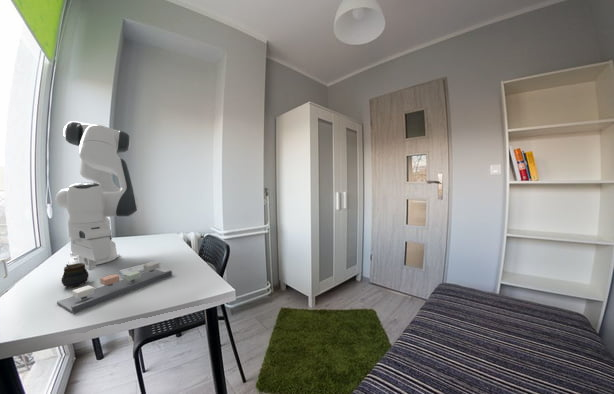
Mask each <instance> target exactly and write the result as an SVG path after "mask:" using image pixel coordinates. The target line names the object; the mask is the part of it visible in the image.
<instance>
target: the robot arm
mask: <svg viewBox="0 0 614 394" xmlns="http://www.w3.org/2000/svg"><path fill="white" fill-rule="evenodd" d="M62 130H63V136H64V138H65V141H66V142H67V143H69V144H71V145H73V146H75V147H76V146H77V147H79V149H78V151H79V158H80V168H79V172H80V175H81V177H82V178H83V179H86V180H88V181H90V182H78V183H73V184H70V185H69V186H68V188H62V189H60V190H59V191H58V192H57V193H56V195H55V203H56V204H57V206H58V207H60V208H61V209H62V210H65V211H67V212H68V215H69V218H68V224H67V225H68V227H67V228H68V237H69V238H70V257H71V258H70V259H67V262H68V265H71V264H76V263H84V264H85V269H86V270H87V271H93V270H96V269H97V265H102V264H106V263H109V262H111V261H112V262H113V261H114V260H115V259H117V258H119V257H120V256H121V254H120V253H118V252H117V246H116V242H115V241H113V235H112V234H113V233H112V229H111V223H110V219H109V217H110V218H111V217H130V216H133V214H135V213H136V212H137V211H138V209H139V202H138V197H137V195H136V193H135V192H134V187H133V183H132V179H131V175H130V172H129V171H130V170H129V169H128V164H127V162H126V161H125V159H123V158H121V157H119V155H118V154H119V153H126V152H128V151H129V149H130V147H131V145H132V139H131V137H130V135H129V134H128V133H127V132H126V131H122V130H118V129H115V128H111V127H107V126H104V125H101V124H91V123H86V122H85V123H84V122H81V121H73V120H72V121H68V122H67V123H66V125H65V126H64V128H63V129H62ZM112 175H114V176H116V177H117V179H118V184H119V187H118V186H117V185H116V184H115V183H114V180H113V178H112Z"/></svg>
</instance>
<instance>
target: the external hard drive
mask: <svg viewBox="0 0 614 394" xmlns="http://www.w3.org/2000/svg"><path fill="white" fill-rule="evenodd" d="M151 262H152V261H150V262H147V263H143V264H138V265H135V266H130V267H127V268H123V269H119V270H118V272H119V273H120V274H121V276H123V277H124V274H126V273H129V272H132V271H139V272H142V273H143V272H147V270H144V265H145V264H148V263H151Z"/></svg>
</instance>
